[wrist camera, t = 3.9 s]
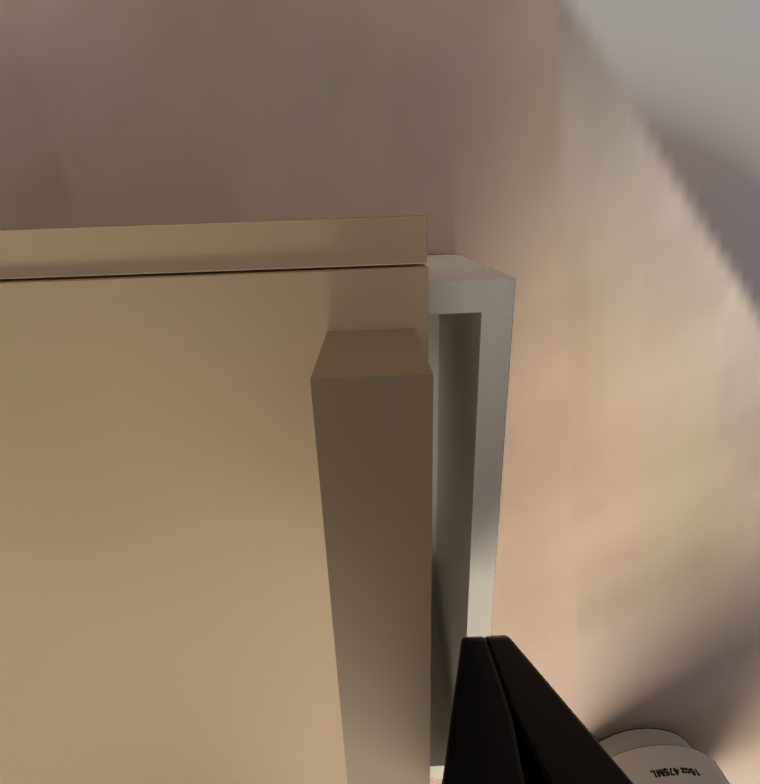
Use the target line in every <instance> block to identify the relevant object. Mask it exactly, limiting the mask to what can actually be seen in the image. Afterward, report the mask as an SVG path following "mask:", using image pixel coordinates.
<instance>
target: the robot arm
mask: <svg viewBox="0 0 760 784" xmlns="http://www.w3.org/2000/svg"><path fill="white" fill-rule="evenodd" d="M442 784H634V783H633V782H632V781H631V780H630V779H629V778H628V776H627V775H626V774H625V773H624V772H623V771H622V769H621V768H620V767H619V766H618V765H617V763H616V762H615V761H614V760H613V759H612V758H611V756H610V755H609V754H608V753H607V752H606V750H605V749H604V748H603V747H602V746H601V745H600V743H599V742H598V741H597V740H596V739H595V738H594V736H593V735H592V734H591V733H590V732H589V730H588V729H587V728H586V727H585V726H584V725H583V723H582V722H581V721H580V720H579V719H578V718H577V716H576V715H575V714H574V713H573V712H572V710H571V709H570V708H569V707H568V706H567V705H566V703H565V702H564V701H563V700H562V699H561V698H560V696H559V695H558V694H557V693H556V692H555V690H554V689H553V688H552V687H551V686H550V685H549V683H548V682H547V681H546V680H545V679H544V677H543V676H542V675H541V674H540V673H539V672H538V670H537V669H536V668H535V667H534V666H533V665H532V663H531V662H530V661H529V660H528V659H527V657H526V656H525V655H524V654H523V653H522V652H521V650H520V649H519V648H518V647H517V646H516V645H515V643H514V642H513V641H512V640H511V639H510V638H509V637H507V636H504V635H500V636H486V637H485V638H484V637H482V636H475V637H463V638H462V640H461V646H460V653H459V660H458V668H457V675H456V683H455V690H454V698H453V705H452V712H451V720H450V727H449V735H448V742H447V750H446V757H445V764H444V772H443V779H442Z"/></svg>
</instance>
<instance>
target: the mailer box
mask: <svg viewBox="0 0 760 784" xmlns="http://www.w3.org/2000/svg"><path fill="white" fill-rule="evenodd" d="M404 264H425V265H426V266H427V267H428V268H429V334H428V363H429V365H430V368H431V370H432V372H433V475H432V589H431V703H430V779H443V772H444V764H445V757H446V750H447V742H448V735H449V727H450V720H451V712H452V705H453V698H454V690H455V683H456V675H457V668H458V660H459V653H460V646H461V640H462V638H463V637H475V636H482V637H484V638H485V637H486V636H491V622H492V607H493V593H494V579H495V565H496V551H497V537H498V523H499V508H500V494H501V480H502V466H503V452H504V438H505V423H506V409H507V395H508V381H509V367H510V353H511V338H512V324H513V310H514V296H515V282H516V279H515V278H513V277H510V276H508V275H506V274H503V273H501V272H498V271H496V270H494V269H491V268H489V267H486V266H484V265H481V264H479V263H477V262H474V261H472V260H469V259H467V258H464V257H462V256H460V255H457V254H450V255H427V263H404ZM376 265H402V264H376ZM349 266H374V265H349ZM322 267H347V266H322ZM294 268H320V267H294ZM267 269H292V268H267ZM240 270H265V269H240ZM212 271H238V270H212ZM185 272H210V271H185ZM158 273H183V272H158ZM130 274H156V273H130ZM103 275H128V274H103ZM76 276H101V275H76ZM48 277H74V276H48ZM21 278H46V277H21ZM0 279H19V278H0Z"/></svg>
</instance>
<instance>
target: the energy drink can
mask: <svg viewBox="0 0 760 784" xmlns="http://www.w3.org/2000/svg"><path fill="white" fill-rule="evenodd" d="M599 743H600V745H601V746H602V747H603V748H604V749H605V750H606V752H607V753H608V754H609V755H610V756H611V758H612V759H613V760H614V761H615V762H616V763H617V765H618V766H619V767H620V768H621V769H622V771H623V772H624V773H625V774H626V775H627V776H628V778H629V779H630V780H631V781H632V782H633V783H634V784H730V783H729V782H728V780H727V779H726V777H725V775H724V774H723V772H722V771H721V769H720V768H719V766H718V765H717V763H716V762H715V761H714V760H713V759H711V758H710V757H709V756H708V755H706V754H704V753H702V752H700V751H697V750H695V749H692V748H691V747H690V746H689V744H688V743H687V742H686V741H685V740H684V739H683V738H681V737H680V736H678V735H676V734H674V733H672V732H668V731H664V730H660V729H636V730H630V731H625V732H621V733H618V734H615V735H612V736H610V737H608V738H606V739H603V740H602V741H600V742H599Z"/></svg>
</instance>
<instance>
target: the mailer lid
mask: <svg viewBox="0 0 760 784" xmlns="http://www.w3.org/2000/svg"><path fill="white" fill-rule="evenodd" d="M404 263H427V215H421V216H393V217H364V218H336V219H308V220H280V221H251V222H223V223H195V224H167V225H139V226H110V227H82V228H54V229H26V230H0V278H19V279H0V784H430V703H431V589H432V475H433V372H432V370H431V368H430V365H429V363H428V334H429V268H428V267H427V266H426V265H425V264H404ZM376 264H402V265H376ZM349 265H374V266H349ZM322 266H347V267H322ZM294 267H320V268H294ZM267 268H292V269H267ZM240 269H265V270H240ZM212 270H238V271H212ZM185 271H210V272H185ZM158 272H183V273H158ZM130 273H156V274H130ZM103 274H128V275H103ZM76 275H101V276H76ZM48 276H74V277H48ZM21 277H46V278H21Z"/></svg>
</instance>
